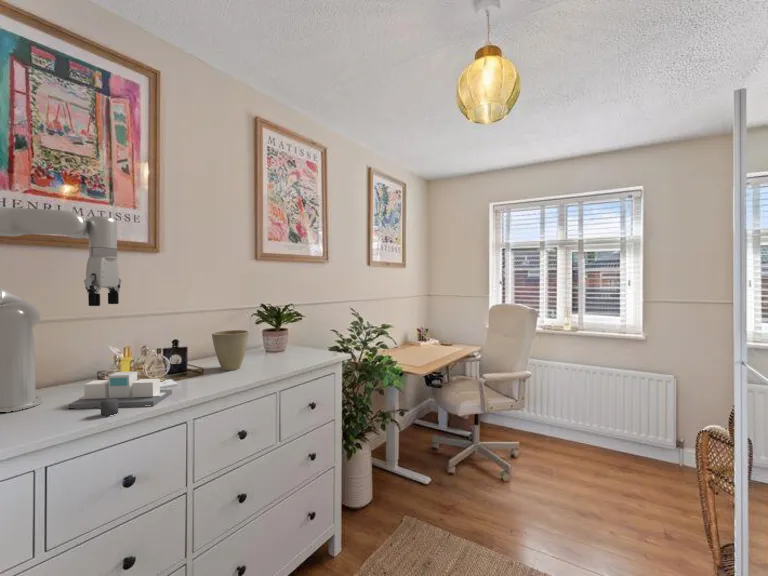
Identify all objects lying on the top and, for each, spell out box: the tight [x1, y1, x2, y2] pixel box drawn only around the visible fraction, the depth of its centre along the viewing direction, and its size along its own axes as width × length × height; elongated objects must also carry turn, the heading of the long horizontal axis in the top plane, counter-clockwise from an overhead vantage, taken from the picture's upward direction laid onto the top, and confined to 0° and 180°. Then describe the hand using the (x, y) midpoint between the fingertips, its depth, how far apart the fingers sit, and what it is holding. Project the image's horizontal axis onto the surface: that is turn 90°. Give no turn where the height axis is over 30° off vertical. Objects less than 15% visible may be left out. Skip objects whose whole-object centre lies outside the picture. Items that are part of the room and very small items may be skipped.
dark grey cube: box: [100, 399, 119, 417], centre depth 105 cm, size 4×4×4 cm
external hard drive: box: [160, 378, 179, 389], centre depth 132 cm, size 2×8×12 cm
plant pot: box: [211, 329, 250, 371], centre depth 160 cm, size 15×15×16 cm
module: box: [108, 371, 138, 398], centre depth 117 cm, size 6×5×7 cm
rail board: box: [67, 378, 173, 409], centre depth 117 cm, size 24×12×6 cm, turn 96°
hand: (104, 304), depth 123 cm, fingers open, 9 cm apart
